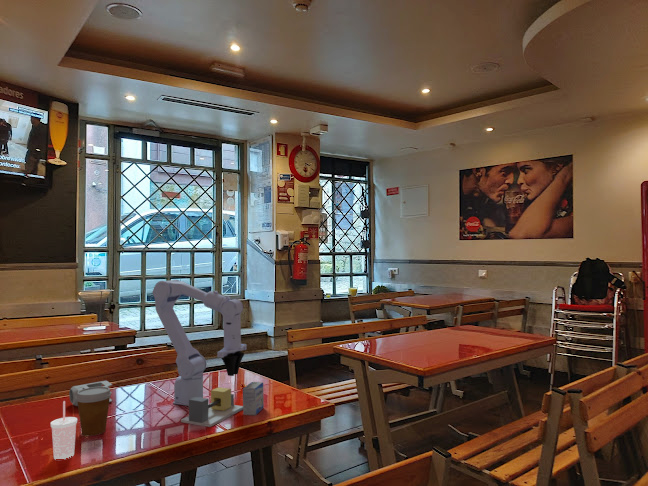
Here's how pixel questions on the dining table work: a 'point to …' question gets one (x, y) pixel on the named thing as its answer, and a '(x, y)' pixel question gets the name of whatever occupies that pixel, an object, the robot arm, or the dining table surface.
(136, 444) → the dining table surface
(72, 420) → the beverage cup
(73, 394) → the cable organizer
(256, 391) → the medicine box
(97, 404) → the disposable coffee cup
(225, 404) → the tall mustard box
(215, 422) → the grey board with rod
